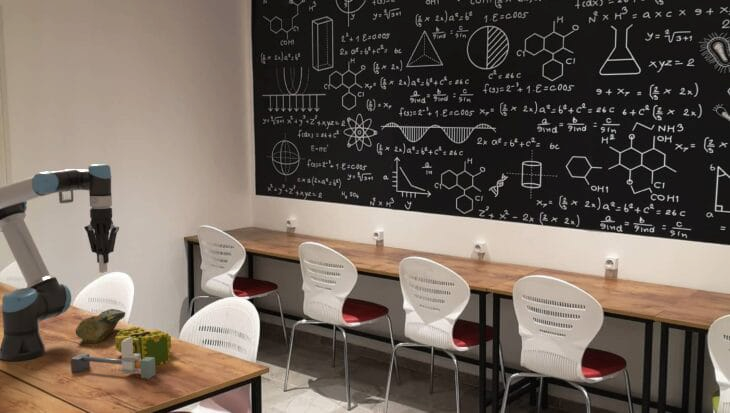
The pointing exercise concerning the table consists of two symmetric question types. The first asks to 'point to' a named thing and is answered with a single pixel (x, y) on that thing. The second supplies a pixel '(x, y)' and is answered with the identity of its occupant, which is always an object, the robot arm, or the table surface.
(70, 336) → the table surface
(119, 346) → the toy
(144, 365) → the rail
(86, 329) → the stone
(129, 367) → the cream l-shaped block
